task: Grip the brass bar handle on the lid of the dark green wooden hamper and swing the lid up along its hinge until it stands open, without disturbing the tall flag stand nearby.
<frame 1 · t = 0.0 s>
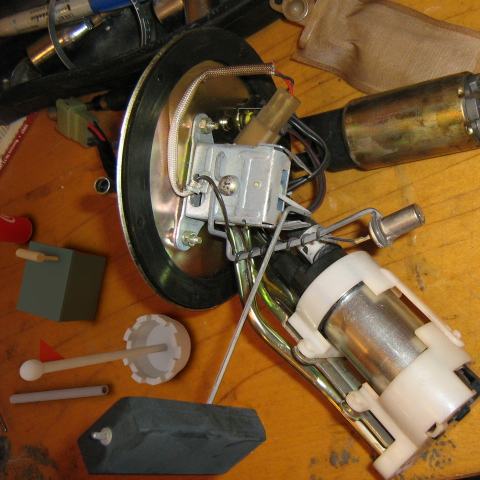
hamper: (79, 283, 102), on the table
metal rod: (62, 393, 101), on the table
beverage can: (26, 230, 110), on the table
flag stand: (168, 346, 91), on the table
hamper lid: (34, 280, 92), point 11 cm above the table, hinge at 0.0°
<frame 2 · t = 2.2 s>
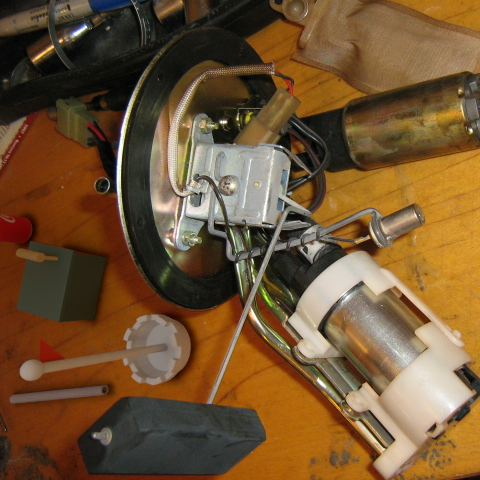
nothing on the table moved.
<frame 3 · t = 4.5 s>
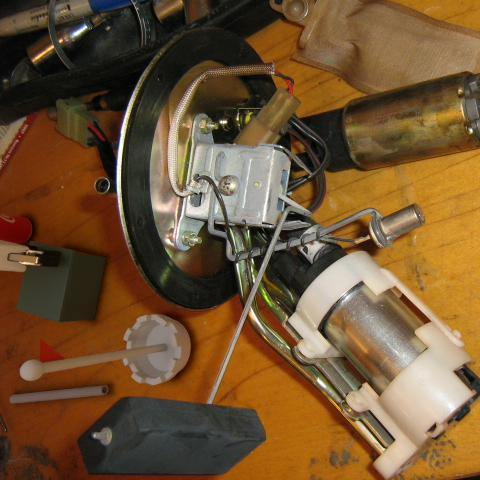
hand: (46, 256, 93), 9 cm above the table, tool pointing down, fingers closed on hamper lid, 6 cm apart
hamper lid: (34, 280, 92), point 11 cm above the table, hinge at 0.0°, touching gripper
everything else where it was.
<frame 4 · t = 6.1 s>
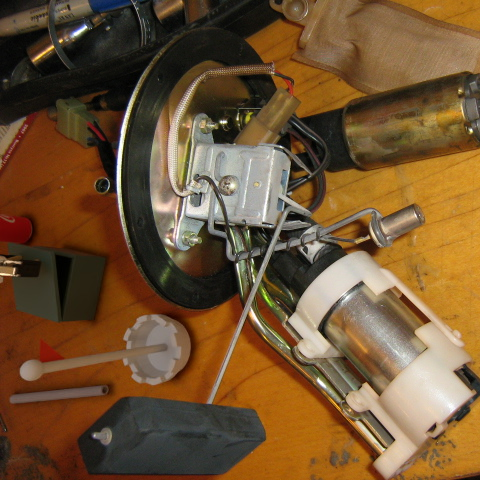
hand: (26, 266, 90), 13 cm above the table, tool pointing down, fingers closed on hamper lid, 6 cm apart
hamper lid: (22, 285, 90), point 13 cm above the table, hinge at 18.7°, touching gripper
everything else where it was.
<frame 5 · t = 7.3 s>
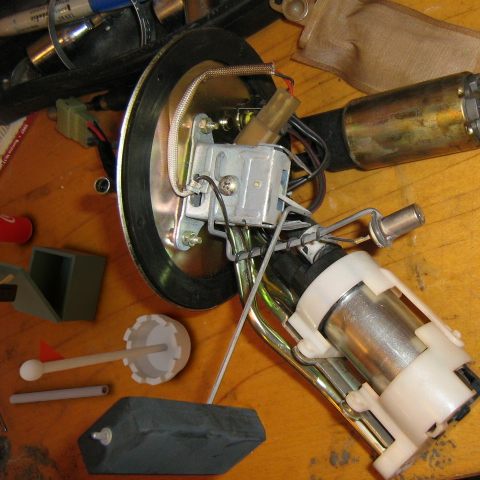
hand: (2, 289, 86), 17 cm above the table, tool pointing down, fingers closed on hamper lid, 6 cm apart
hamper lid: (9, 299, 88), point 15 cm above the table, hinge at 44.2°, touching gripper
everything else where it was.
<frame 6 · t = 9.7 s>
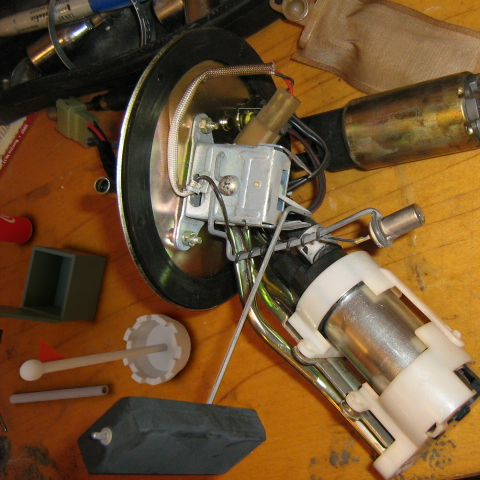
hamper lid: (0, 323, 87), point 16 cm above the table, hinge at 80.0°, touching gripper
everything else where it was.
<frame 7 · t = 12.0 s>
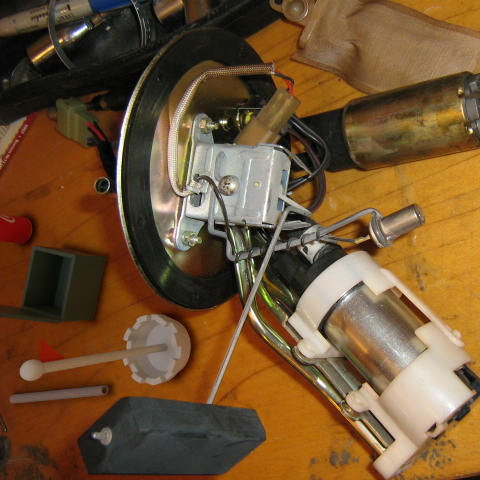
hamper lid: (0, 323, 87), point 16 cm above the table, hinge at 80.2°
everything else where it was.
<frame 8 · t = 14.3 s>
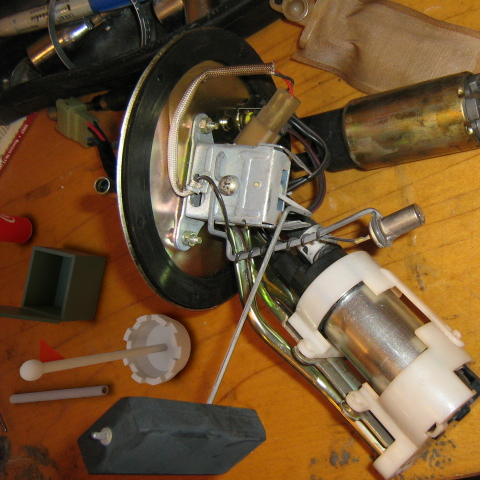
nothing on the table moved.
at the end: hamper lid at +80° (first picture: +0°); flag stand moved 0.2 cm from its start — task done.
